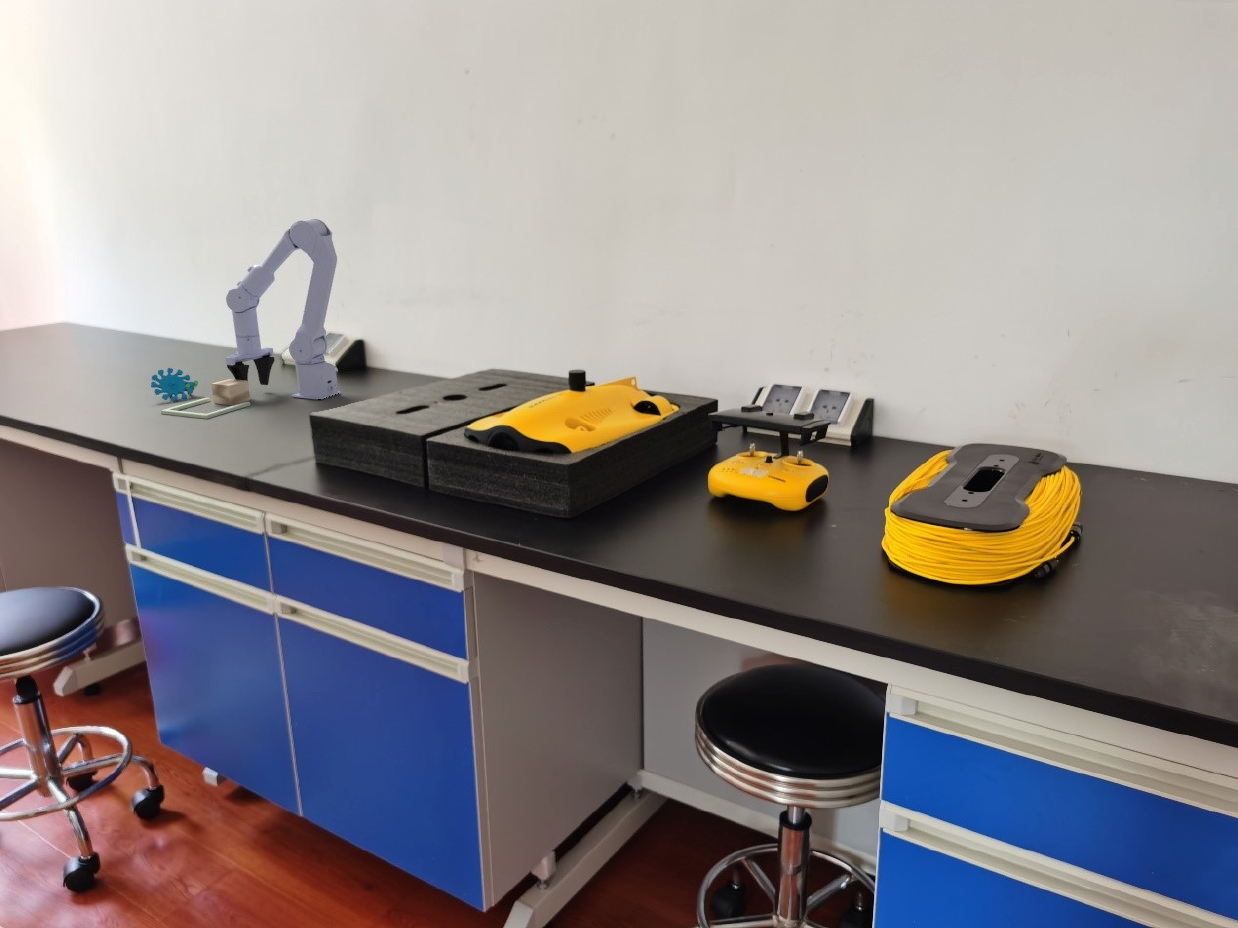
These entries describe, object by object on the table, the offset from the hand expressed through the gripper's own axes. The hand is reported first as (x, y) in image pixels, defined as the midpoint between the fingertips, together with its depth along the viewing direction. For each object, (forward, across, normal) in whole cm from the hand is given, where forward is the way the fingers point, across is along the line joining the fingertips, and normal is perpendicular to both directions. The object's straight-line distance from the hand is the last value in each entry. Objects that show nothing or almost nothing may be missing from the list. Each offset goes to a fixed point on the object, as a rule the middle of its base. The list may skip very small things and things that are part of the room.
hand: (254, 387), depth 235 cm
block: (+2, +8, 0) cm, 8 cm away
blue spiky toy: (+2, +10, -16) cm, 19 cm away
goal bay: (+2, +16, 0) cm, 17 cm away
